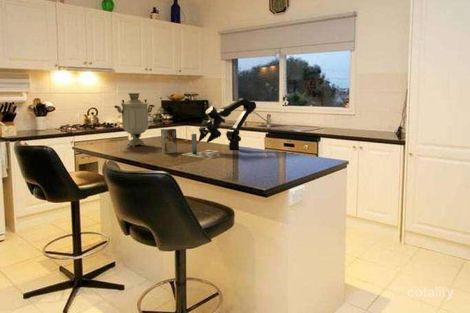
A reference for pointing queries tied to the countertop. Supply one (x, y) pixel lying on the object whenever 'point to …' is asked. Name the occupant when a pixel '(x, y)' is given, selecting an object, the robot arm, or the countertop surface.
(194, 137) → the key rod
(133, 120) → the samovar
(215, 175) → the countertop surface
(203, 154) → the board
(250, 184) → the countertop surface
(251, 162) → the countertop surface
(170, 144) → the coffee box
